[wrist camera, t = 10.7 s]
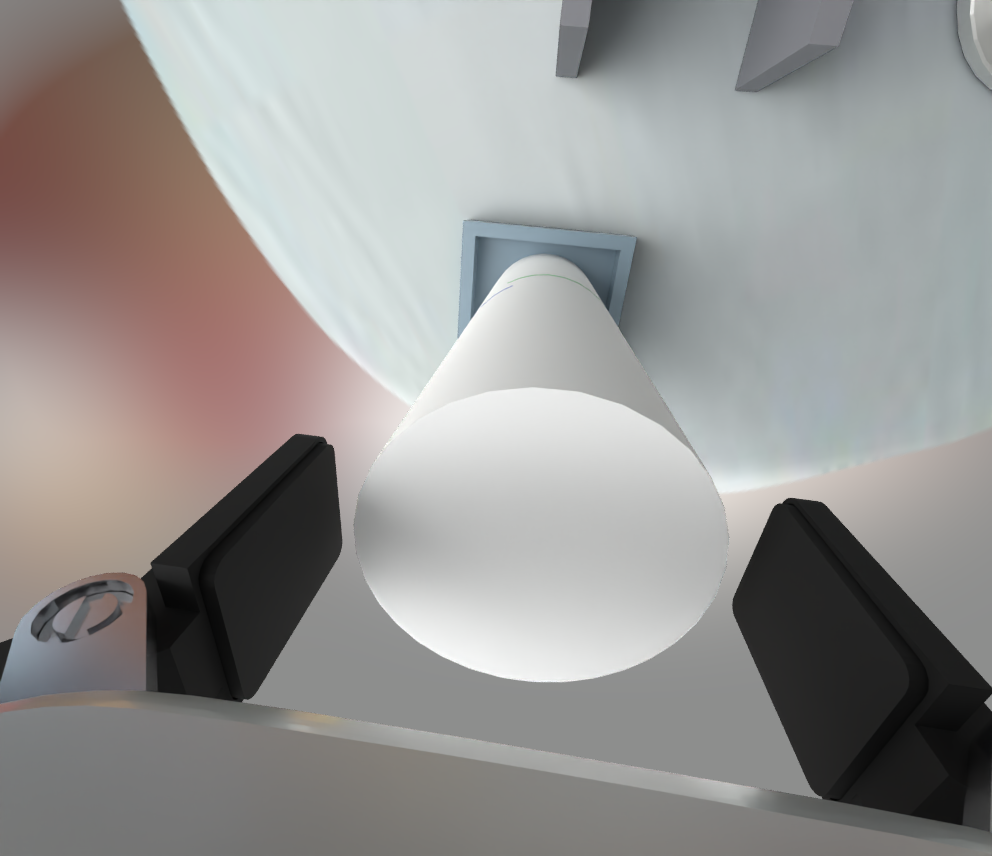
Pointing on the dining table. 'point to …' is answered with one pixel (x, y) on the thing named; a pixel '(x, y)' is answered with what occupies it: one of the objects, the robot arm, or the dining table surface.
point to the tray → (505, 244)
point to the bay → (771, 44)
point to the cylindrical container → (541, 495)
